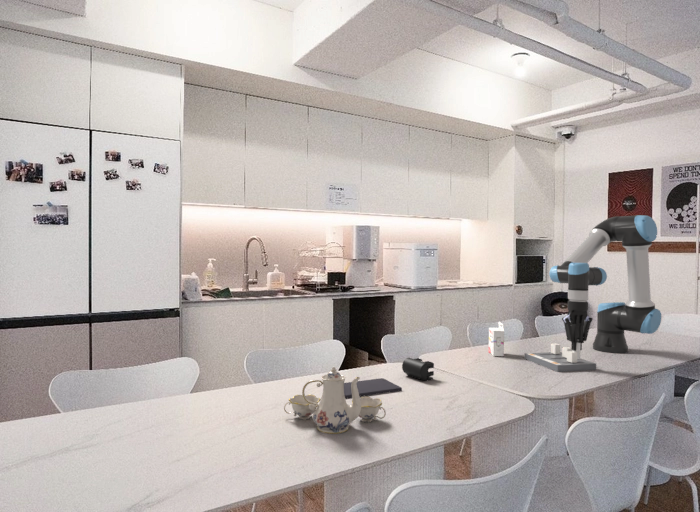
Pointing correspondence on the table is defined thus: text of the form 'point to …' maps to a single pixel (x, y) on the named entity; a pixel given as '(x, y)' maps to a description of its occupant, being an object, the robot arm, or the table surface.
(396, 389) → the notebook
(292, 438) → the table surface
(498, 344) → the ink cartridge box
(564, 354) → the tab
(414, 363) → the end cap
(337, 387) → the chinaware
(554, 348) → the tab
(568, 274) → the robot arm
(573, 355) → the tab
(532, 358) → the switch panel
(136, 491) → the table surface
